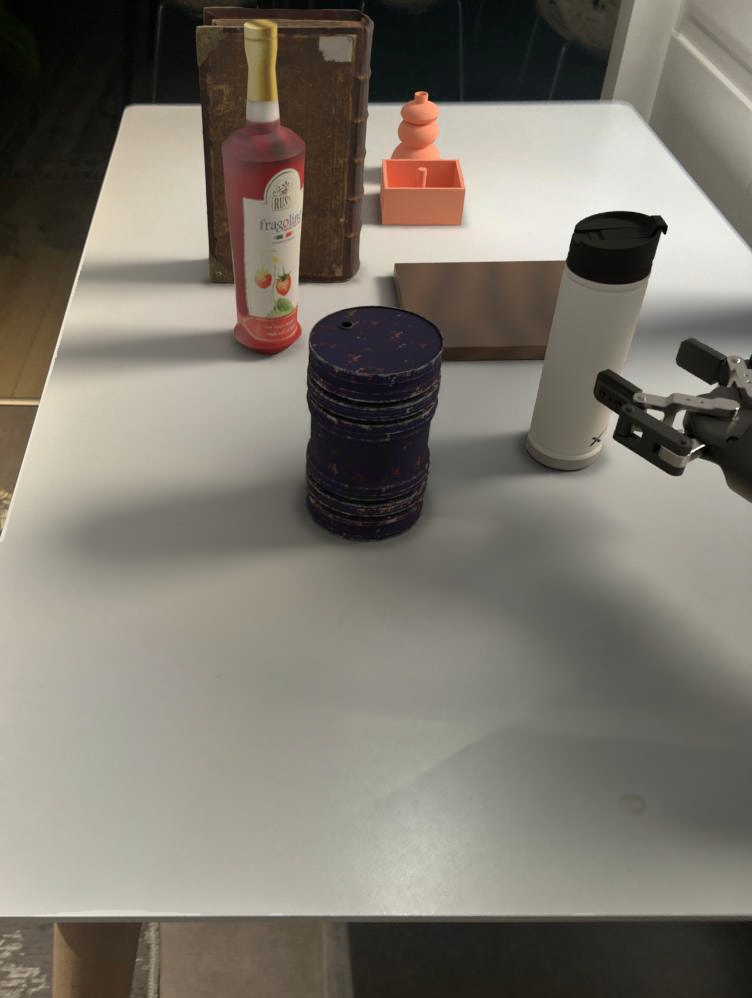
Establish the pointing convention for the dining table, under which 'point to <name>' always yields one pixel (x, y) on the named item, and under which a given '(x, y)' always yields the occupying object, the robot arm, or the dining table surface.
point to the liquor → (264, 205)
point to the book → (294, 125)
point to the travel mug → (591, 333)
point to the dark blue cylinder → (370, 420)
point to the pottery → (420, 173)
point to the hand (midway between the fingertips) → (640, 365)
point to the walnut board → (484, 305)
